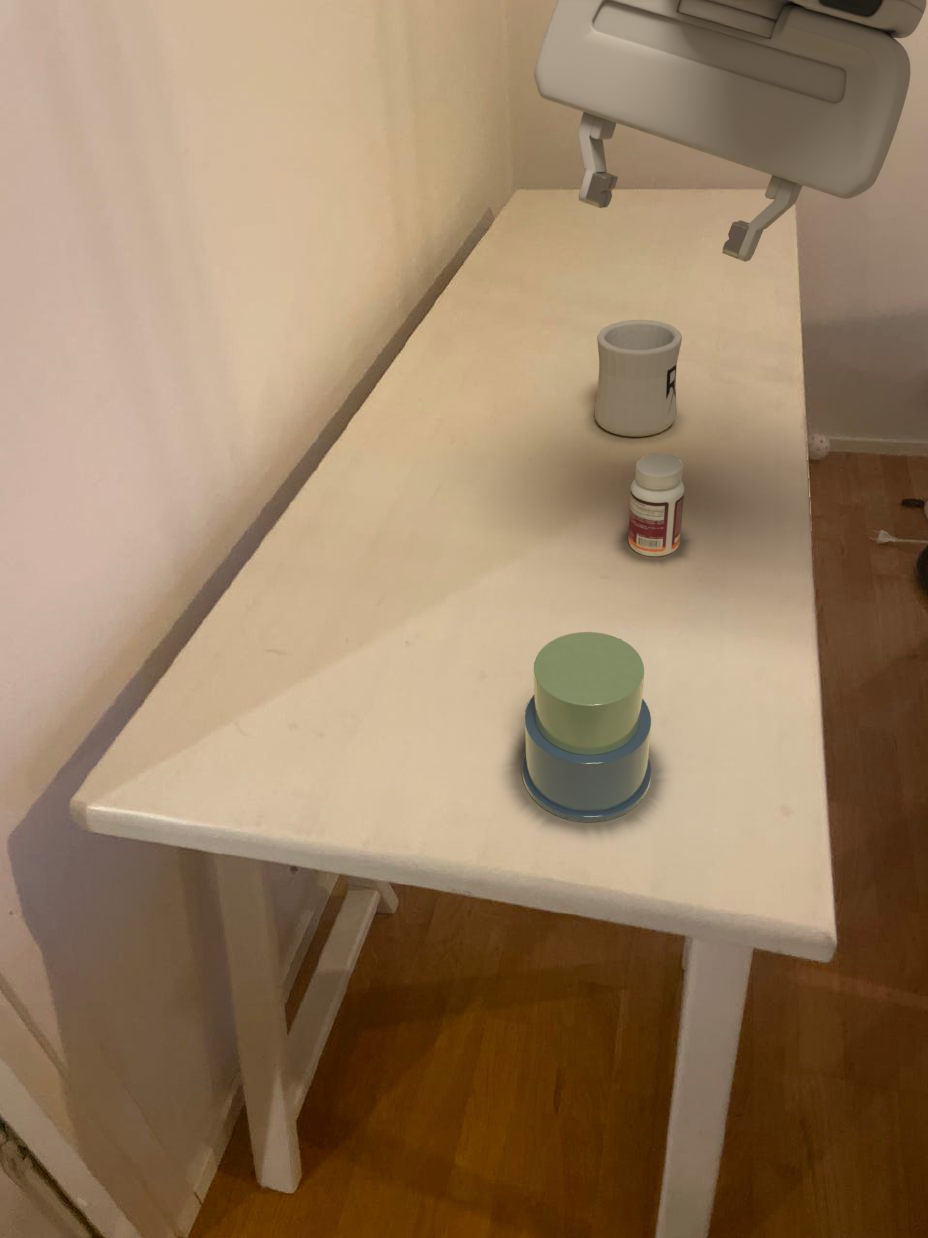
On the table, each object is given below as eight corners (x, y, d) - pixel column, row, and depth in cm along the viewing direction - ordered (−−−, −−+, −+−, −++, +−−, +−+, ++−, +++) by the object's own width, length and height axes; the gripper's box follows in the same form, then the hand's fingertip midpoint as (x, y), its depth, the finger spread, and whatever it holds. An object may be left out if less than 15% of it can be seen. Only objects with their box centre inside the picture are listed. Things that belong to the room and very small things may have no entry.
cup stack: (662, 740, 68) (672, 635, 62) (635, 836, 62) (644, 729, 55) (542, 715, 71) (540, 612, 65) (505, 805, 64) (499, 700, 58)
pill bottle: (659, 523, 90) (665, 445, 84) (690, 548, 86) (698, 468, 81) (617, 538, 88) (621, 459, 83) (646, 563, 85) (652, 483, 80)
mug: (674, 441, 102) (681, 353, 95) (590, 438, 104) (592, 351, 97) (677, 390, 111) (684, 307, 105) (600, 388, 113) (602, 306, 107)
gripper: (556, -106, 49) (489, 176, 56) (946, -5, 43) (812, 296, 50) (602, -84, 54) (535, 173, 61) (958, 10, 48) (834, 282, 55)
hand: (662, 229), depth 56 cm, fingers open, 8 cm apart
